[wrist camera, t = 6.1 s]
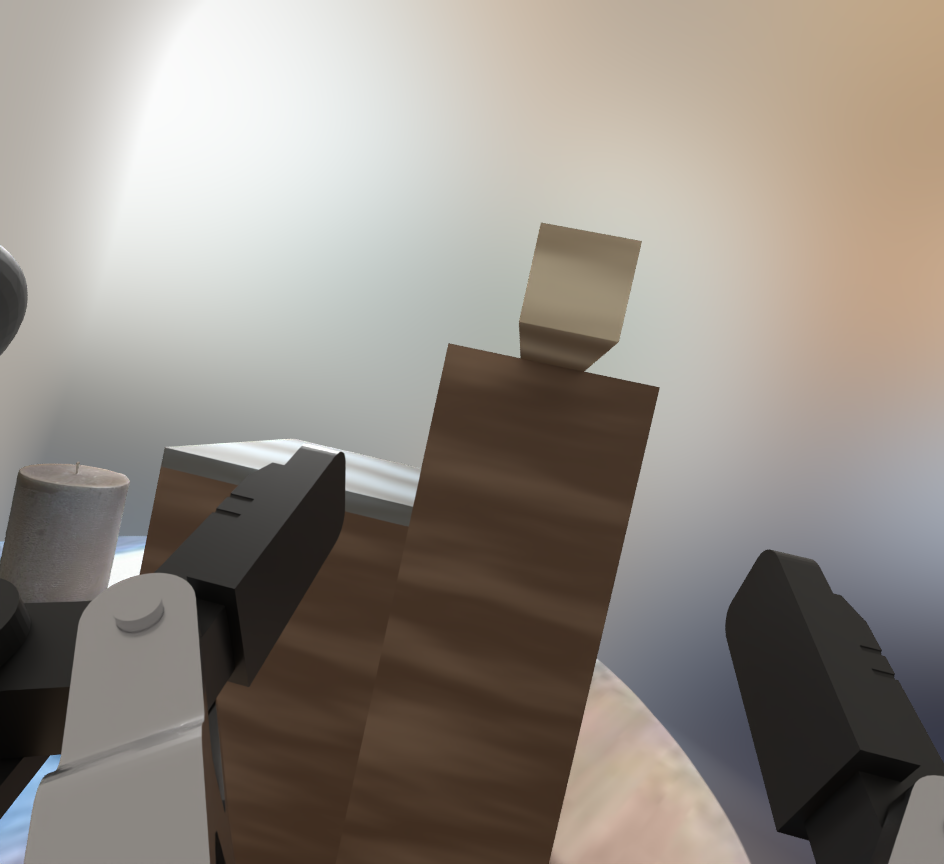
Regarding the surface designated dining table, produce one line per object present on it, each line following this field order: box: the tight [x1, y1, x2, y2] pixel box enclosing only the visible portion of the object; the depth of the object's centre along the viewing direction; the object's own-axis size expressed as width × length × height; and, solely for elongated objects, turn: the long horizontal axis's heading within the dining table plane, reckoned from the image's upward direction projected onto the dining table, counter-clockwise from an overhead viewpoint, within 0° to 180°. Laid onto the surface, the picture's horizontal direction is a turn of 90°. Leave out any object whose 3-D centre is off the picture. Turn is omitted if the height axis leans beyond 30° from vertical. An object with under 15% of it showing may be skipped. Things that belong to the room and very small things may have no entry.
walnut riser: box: [140, 344, 659, 864], centre depth 33 cm, size 15×23×32 cm, turn 84°
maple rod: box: [519, 223, 642, 372], centre depth 27 cm, size 22×3×3 cm, turn 174°
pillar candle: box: [0, 462, 130, 603], centre depth 56 cm, size 10×10×15 cm
